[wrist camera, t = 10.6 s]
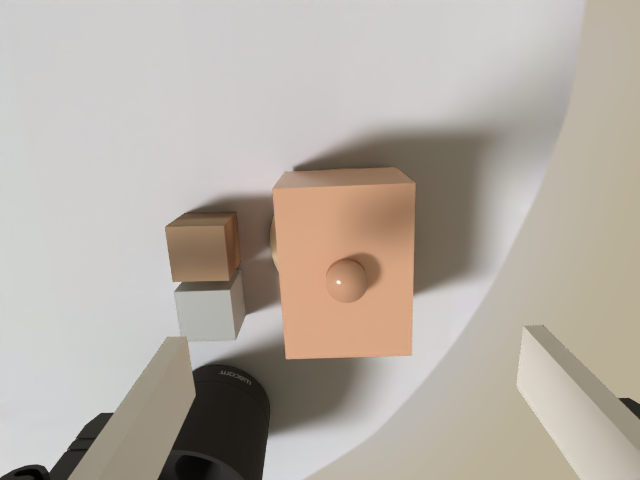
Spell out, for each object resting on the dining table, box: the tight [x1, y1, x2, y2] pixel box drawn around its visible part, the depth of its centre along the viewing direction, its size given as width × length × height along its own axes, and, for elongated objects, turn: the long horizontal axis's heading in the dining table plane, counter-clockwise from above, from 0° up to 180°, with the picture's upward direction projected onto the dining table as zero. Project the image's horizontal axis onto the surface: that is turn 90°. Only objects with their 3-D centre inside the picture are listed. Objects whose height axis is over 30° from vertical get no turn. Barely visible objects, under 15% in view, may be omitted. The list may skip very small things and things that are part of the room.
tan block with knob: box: [272, 167, 416, 359], centre depth 27 cm, size 11×8×8 cm
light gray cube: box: [174, 270, 246, 342], centre depth 32 cm, size 4×4×4 cm
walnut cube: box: [165, 212, 241, 282], centre depth 30 cm, size 4×4×4 cm
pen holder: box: [157, 366, 270, 480], centre depth 32 cm, size 9×9×10 cm
